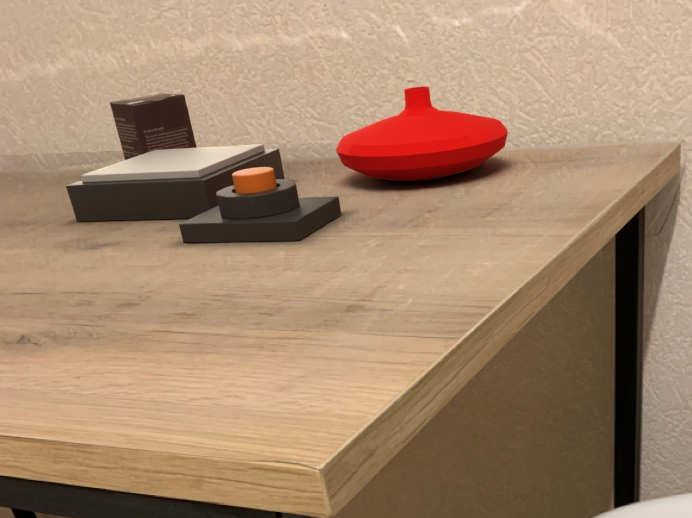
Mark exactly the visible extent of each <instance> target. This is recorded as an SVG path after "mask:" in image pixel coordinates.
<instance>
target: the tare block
mask: <svg viewBox="0 0 692 518" xmlns="http://www.w3.org/2000/svg"><path fill="white" fill-rule="evenodd" d="M276 184H277V188H275V189H271V190H267V191H262V192H255V193H241V194H237V193H236V192H235V187H234V185H233V186H229V187H226V188H224V189H222V190H219V191H217V200H218V206H216V207H214V208H212V209H210V210H208V211H206V212H204V213H201V214H199V215H197V216H195V217H193V218H191V219H186V220H185V221H182V222H180V223H179V224H178V226H179V227H178V228H179V230H180V231H179V232H180V235H181V238H182V239H181V240H182V242H183V244H187V243H190V244H194V243H197V244H199V243H247V242H250V243H251V242H252V243H254V242H255V243H256V242H298V241H301V240H302V239H305V238H306V237H307V236H309V235H311V234H312V233H314V232H316V231H317V230H319V229H320V228H322V227H323V226H325V225H327V224H329V223H330V222H332V221H333V220H335V219H336V218H338V217H340V216H341V215H342V209H341V202H340V197H339V196H338V195H337V196H312V197H311V196H310V197H299V194H298V187H297V184H296V181H295V180H292V179H285V180H284V179H276Z"/></svg>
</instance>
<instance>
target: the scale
mask: <svg viewBox="0 0 692 518" xmlns="http://www.w3.org/2000/svg"><path fill="white" fill-rule="evenodd" d="M256 167H271V168H273V169H274V173H275V178H276V179H284V180H286V178H285V172H284V168H283V163H282V155H281V152H280V148H265V144H264V143H258V144H239V145H221V146H206V147H205V146H201V147H197V148H181V149H162V150H154V151H151V152H148V153H145V154H142V155H139V156H136V157H133V158H130V159H127V160H125V159H124V160H121V161H119V162H116V163H113V164H110V165H107V166H104V167H101V168H98V169H94V170H93V171H89V172H87V173H86V172H85V173H84V174H80V176H79V178H80V180H78V181H76V182H73V183H70V184H67V185H65V187H66V191H67V194H68V197H69V201H70V204H71V207H72V209H73V210H72V211H73V213H74V216H75V217H74V218H75V220H76V222H78V223H79V222H81V223H83V222H115V221H117V222H119V221H149V220H150V221H151V220H152V221H154V220H157V221H158V220H189V219H191V218H193V217H195V216H197V215H199V214H201V213H204V212H206V211H208V210H210V209H212V208H214V207H216V206H218V200H217V191H219V190H222V189H224V188H226V187H229V186H233V185H234V182H233V177H232V174H233V173H234V172H236V171H239V170H243V169H249V168H256Z"/></svg>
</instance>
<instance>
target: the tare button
mask: <svg viewBox="0 0 692 518" xmlns="http://www.w3.org/2000/svg"><path fill="white" fill-rule="evenodd" d="M232 177H233V182H234V187H235V192H236V193H237V194H241V193H255V192H262V191H267V190H271V189H275V188H277V184H276V178H275V173H274V169H273V168H271V167H256V168H249V169H243V170H239V171H236V172H234V173H233V174H232Z"/></svg>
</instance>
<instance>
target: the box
mask: <svg viewBox="0 0 692 518" xmlns="http://www.w3.org/2000/svg"><path fill="white" fill-rule="evenodd" d="M109 105H110V109H111V112H112V116H113V120H114V125H115V127H116V130H117V135H118V139H119V142H120V146H121V150H122V154H123V158H124V160H127V159H130V158H133V157H136V156H139V155H142V154H145V153H148V152H151V151H154V150H162V149H181V148H198V147H197V146H198V145H197V142H196V138H195V135H194V129H193V126H192V121H191V117H190V112H189V108H188V105H187V100H186V96H185V94H184V93H163V92H162V93H157V94H150V95H145V96H138V97H133V98H127V99H120V100H115V101H110V102H109Z"/></svg>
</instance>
